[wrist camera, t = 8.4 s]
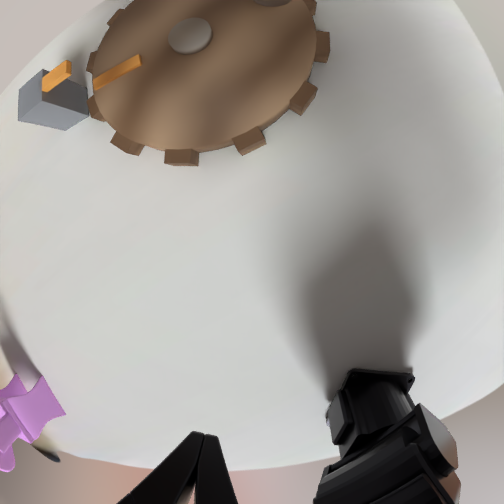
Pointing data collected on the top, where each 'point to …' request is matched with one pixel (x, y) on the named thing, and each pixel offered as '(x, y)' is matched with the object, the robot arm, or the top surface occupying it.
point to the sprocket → (203, 73)
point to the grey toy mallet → (53, 99)
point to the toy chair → (24, 415)
